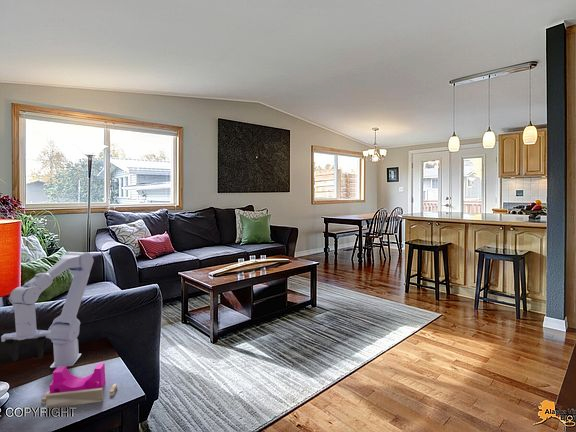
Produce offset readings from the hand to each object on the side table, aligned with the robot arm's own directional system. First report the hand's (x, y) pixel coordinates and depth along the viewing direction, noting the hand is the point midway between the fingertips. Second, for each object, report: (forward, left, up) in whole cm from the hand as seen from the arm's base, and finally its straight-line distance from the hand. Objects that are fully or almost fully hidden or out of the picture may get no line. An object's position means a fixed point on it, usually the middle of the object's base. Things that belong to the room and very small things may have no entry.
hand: (28, 358), depth 121 cm
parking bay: (+12, +20, -9) cm, 25 cm away
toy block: (+7, +18, -10) cm, 22 cm away
